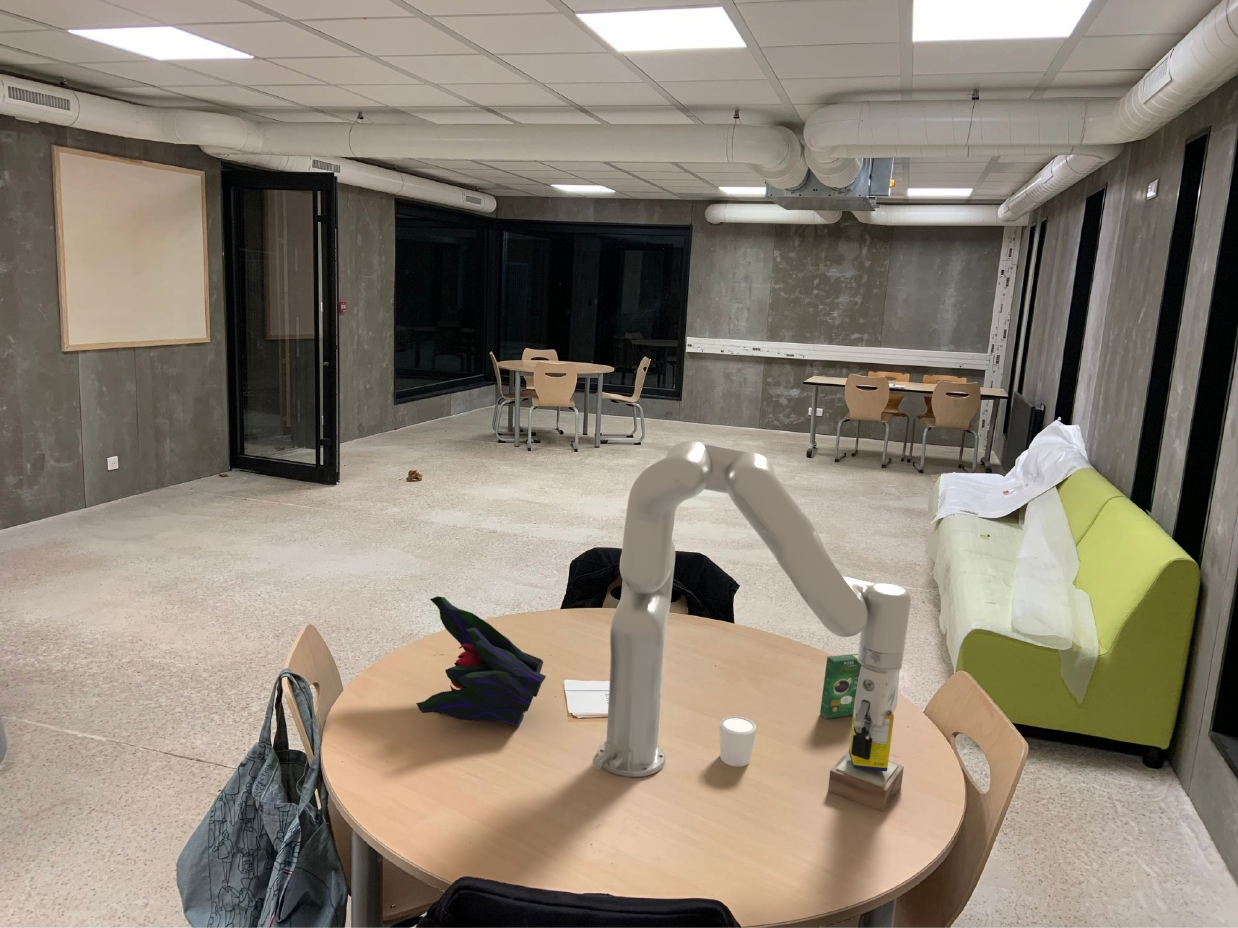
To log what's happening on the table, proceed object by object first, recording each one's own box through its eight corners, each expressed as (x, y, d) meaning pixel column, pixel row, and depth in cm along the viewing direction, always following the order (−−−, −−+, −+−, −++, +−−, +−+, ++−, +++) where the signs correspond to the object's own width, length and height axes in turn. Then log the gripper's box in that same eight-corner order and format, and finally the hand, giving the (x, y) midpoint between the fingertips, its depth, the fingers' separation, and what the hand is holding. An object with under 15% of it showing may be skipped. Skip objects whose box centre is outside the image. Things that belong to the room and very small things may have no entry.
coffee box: (851, 709, 188) (858, 651, 186) (859, 715, 186) (866, 657, 183) (819, 713, 186) (825, 655, 183) (826, 720, 183) (833, 661, 180)
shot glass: (725, 770, 162) (728, 735, 161) (711, 750, 169) (714, 717, 167) (759, 766, 164) (762, 731, 163) (744, 747, 170) (747, 714, 169)
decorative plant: (506, 778, 172) (367, 720, 176) (552, 680, 193) (428, 629, 196) (521, 716, 160) (371, 655, 163) (569, 618, 180) (435, 565, 183)
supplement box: (880, 754, 160) (888, 699, 158) (887, 772, 154) (895, 715, 152) (847, 751, 161) (854, 696, 158) (852, 769, 155) (859, 711, 153)
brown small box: (883, 811, 152) (886, 789, 151) (827, 790, 157) (830, 768, 156) (901, 786, 160) (904, 764, 159) (848, 767, 165) (850, 746, 164)
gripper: (885, 678, 144) (872, 775, 148) (916, 645, 158) (904, 735, 162) (841, 664, 148) (830, 759, 152) (876, 634, 162) (865, 721, 166)
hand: (868, 746), depth 157 cm, fingers closed on supplement box, 8 cm apart
